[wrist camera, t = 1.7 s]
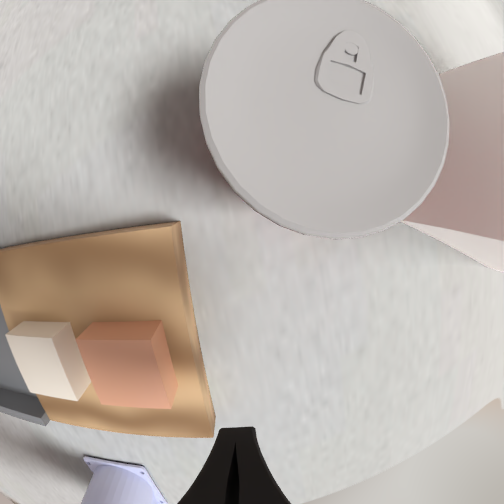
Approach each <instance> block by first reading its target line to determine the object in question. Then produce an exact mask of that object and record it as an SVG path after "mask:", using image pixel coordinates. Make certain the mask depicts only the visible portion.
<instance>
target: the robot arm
mask: <svg viewBox="0 0 504 504" xmlns="http://www.w3.org/2000/svg"><path fill="white" fill-rule="evenodd" d="M83 459H84V461H85V462H86V464H87V465H88V467H89V468H90V469H91V471H92V472H93V476H92V479H91V481H90V483H89V486H88V488H87V490H86V493H85V495H84V497H83V500H82V502H81V504H168V503H167V502H166V500H165V499H164V497H163V496H162V494H161V493H160V491H159V490H158V488H157V487H156V485H155V483H154V482H153V480H152V478H151V477H150V475H149V474H148V472H147V470H146V469H145V467H143V466H139V465H131V464H124V463H118V462H112V461H107V460H102V459H97V458H92V457H87V456H84V458H83ZM177 504H291V503H290V502H289V501H288V499H287V498H286V496H285V495H284V494H283V492H282V491H281V489H280V488H279V486H278V485H277V483H276V481H275V480H274V478H273V476H272V474H271V472H270V471H269V469H268V467H267V464H266V462H265V460H264V458H263V456H262V453H261V451H260V448H259V445H258V442H257V437H256V430H255V428H254V427H238V428H221V429H220V430H219V433H218V436H217V438H216V441H215V444H214V446H213V448H212V450H211V453H210V455H209V457H208V459H207V461H206V462H205V464H204V466H203V468H202V470H201V471H200V473H199V475H198V476H197V478H196V479H195V481H194V483H193V484H192V486H191V487H190V488H189V490H188V491H187V492H186V494H185V495H184V496H183V498H182V499H181V500H180V501H179V502H178V503H177Z"/></svg>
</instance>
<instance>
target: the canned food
mask: <svg viewBox="0 0 504 504" xmlns="http://www.w3.org/2000/svg"><path fill="white" fill-rule="evenodd" d="M199 110H200V120H201V124H202V128H203V133H204V137H205V141H206V145H207V147H208V149H209V151H210V154H211V156H212V158H213V160H214V162H215V164H216V167H217V169H218V170H219V172H220V173H221V174H222V176H223V177H224V179H225V180H226V181H227V183H228V184H229V185H230V187H231V188H232V189H233V191H234V192H235V193H236V194H237V195H238V196H239V197H240V198H241V199H242V200H244V201H245V202H246V203H247V204H248V205H249V206H250V207H251V208H252V209H253V210H254V211H256V212H257V213H259V214H261V215H262V216H264V217H266V218H267V219H269V220H271V221H272V222H274V223H275V224H277V225H279V226H282V227H284V228H287V229H290V230H293V231H295V232H298V233H301V234H304V235H309V236H316V237H323V238H329V239H347V238H360V237H364V236H367V235H371V234H374V233H377V232H381V231H384V230H386V229H387V228H389V227H391V226H393V225H395V224H396V223H398V222H400V221H402V220H404V219H405V218H406V217H407V216H408V215H409V214H411V213H412V212H413V211H414V210H415V209H416V208H417V207H418V206H420V205H421V203H422V202H423V201H424V199H425V198H426V197H427V195H428V194H429V193H430V191H431V190H432V188H433V187H434V185H435V183H436V181H437V179H438V177H439V175H440V172H441V170H442V168H443V165H444V161H445V157H446V153H447V149H448V144H449V122H450V121H449V113H448V106H447V99H446V96H445V92H444V89H443V86H442V83H441V80H440V77H439V75H438V73H437V71H436V69H435V67H434V65H433V63H432V61H431V59H430V57H429V56H428V54H427V53H426V52H425V50H424V49H423V47H422V46H421V45H420V43H419V42H418V41H417V39H416V38H415V37H414V36H413V35H412V34H411V33H410V32H409V31H408V30H407V29H406V28H405V27H404V26H403V25H402V24H401V23H400V22H399V21H397V20H396V19H394V18H393V17H392V16H390V15H389V14H387V13H386V12H385V11H383V10H382V9H380V8H378V7H376V6H374V5H372V4H370V3H368V2H366V1H364V0H260V1H258V2H256V3H254V4H252V5H250V6H248V7H247V8H245V9H244V10H243V11H241V12H240V13H239V14H238V15H237V16H235V17H234V18H233V19H232V20H230V21H229V23H228V24H227V25H226V26H225V27H224V29H223V30H222V31H221V33H220V34H219V35H218V36H217V38H216V39H215V41H214V43H213V45H212V47H211V49H210V51H209V53H208V55H207V57H206V60H205V62H204V66H203V71H202V76H201V80H200V85H199Z"/></svg>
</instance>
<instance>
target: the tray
mask: <svg viewBox="0 0 504 504" xmlns="http://www.w3.org/2000/svg"><path fill="white" fill-rule="evenodd" d="M5 248H6V247H5ZM0 249H3V248H0ZM8 332H9V330H8V327H7V324H6V321H5V318H4V315H3V312H2V308H1V305H0V412H3V413H5V414H8V415H11V416H14V417H17V418H20V419H23V420H26V421H30V422H33V423H36V424H40V425H43V426H46V425H47V424H48V422H49V421H50V419H49V417H48V415H47V414H46V412H45V410H44V408H43V406H42V405H41V403H40V401H39V399H38V397H37V395H36V393H31V392H30V391H29V389H28V387H27V385H26V383H25V381H24V379H23V377H22V374H21V372H20V370H19V368H18V365H17V363H16V361H15V358H14V356H13V354H12V351H11V349H10V346H9V344H8V341H7V338H6V336H5V334H7V333H8Z"/></svg>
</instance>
